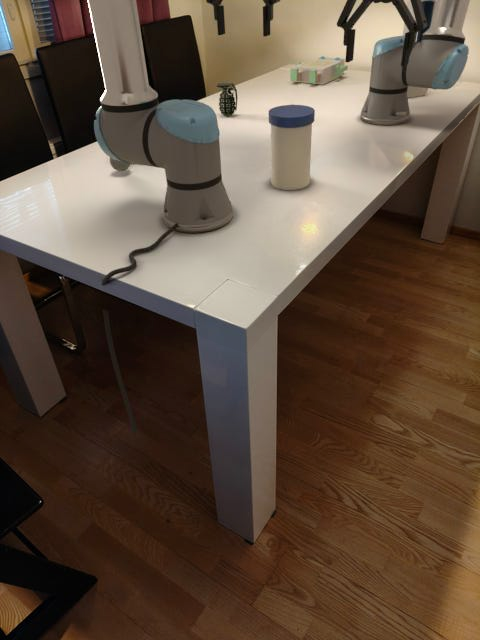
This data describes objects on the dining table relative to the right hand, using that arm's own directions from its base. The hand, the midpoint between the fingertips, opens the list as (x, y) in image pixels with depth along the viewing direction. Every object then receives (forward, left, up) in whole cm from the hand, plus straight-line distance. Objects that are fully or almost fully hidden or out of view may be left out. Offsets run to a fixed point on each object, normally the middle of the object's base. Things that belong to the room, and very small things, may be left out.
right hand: (376, 63), depth 114 cm
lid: (+21, -11, -7) cm, 24 cm away
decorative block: (-81, -57, -24) cm, 102 cm away
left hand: (0, -38, +4) cm, 38 cm away
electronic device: (-70, -14, -24) cm, 75 cm away
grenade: (-20, -59, -24) cm, 67 cm away
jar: (+21, -11, -24) cm, 33 cm away
